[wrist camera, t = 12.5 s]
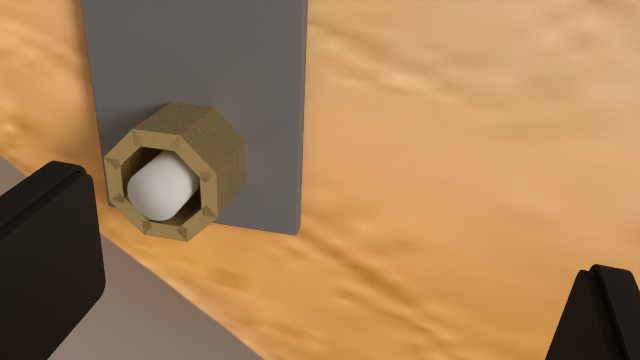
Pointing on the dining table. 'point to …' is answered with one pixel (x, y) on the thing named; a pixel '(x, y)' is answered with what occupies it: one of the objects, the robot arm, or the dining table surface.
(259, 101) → the piston stand
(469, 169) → the dining table surface
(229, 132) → the brass ring
